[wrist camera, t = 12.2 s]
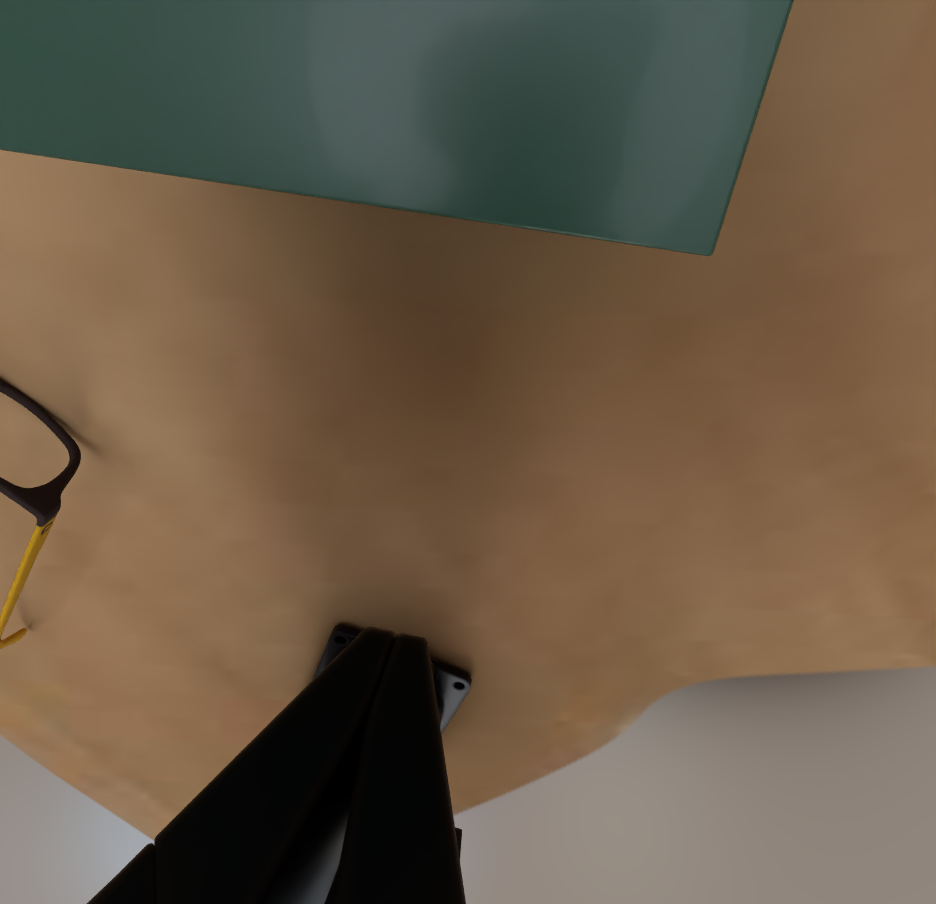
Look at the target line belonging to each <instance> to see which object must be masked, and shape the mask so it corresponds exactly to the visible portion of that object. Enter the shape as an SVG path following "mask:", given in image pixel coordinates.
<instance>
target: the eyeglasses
mask: <svg viewBox="0 0 936 904" xmlns="http://www.w3.org/2000/svg"><path fill="white" fill-rule="evenodd" d="M0 392H2V393H3V394H5V395H7V396H9V397H10V398H12V399H14V400H15V401H17V402H18V403H20V404H21V405H23V406H24V407H25V408H27V409H28V410H29V411H31V412H32V413H33V414H34V415H36V416H37V417H38V418H39V419H40V420H41V421H42V422H44V423H45V424H46V425H47V426H48V427H49V428H50V429H51V430H52V431H53V432H54V433H55V435H56V436H57V437H58V438H59V439H60V440H61V441H62V443H63V444H64V445H65V446H66V448H67V449H68V452H69V456H70V460H69V464H68V466H67V467H66V468H65V469H64V471H63V472H62V473H60V474H59V475H58V476H57V477H56V478H55V479H53V480H52V481H50V482H49V483H47V484H45V485H42V486H39V487H34V488H22V487H19V486H16V485H14V484H12V483H10V482H8V481H6V480H4V479H3V478H1V477H0V492H1V493H3V494H4V495H6V496H7V497H9V498H10V499H12V500H13V501H15V502H16V503H18V504H19V505H21V506H22V507H23V508H25V509H26V510H28V511H29V512H30V513H32V514H33V515H34V516H35V517H36V518H37V524H36V527H35V530H34V533H33V535H32V537H31V540H30V542H29V544H28V547H27V549H26V551H25V554H24V556H23V559H22V561H21V564H20V566H19V569H18V571H17V574H16V577H15V579H14V582H13V584H12V587H11V589H10V592H9V595H8V597H7V600H6V602H5V605H4V607H3V610H2V613H1V615H0V649H1V648H3V647H6V646H8V645H10V644H12V643H15V642H16V641H18V640H20V639H21V638H22V637H23V636H24V635H25V634H26V632H27V629H25V628H23V629H21V630H19V631H17V632H16V633H14V634H12V635H11V636H9V637H7V638H6V639H4V640H1V634H2V632H3V630H4V628H5V626H6V623H7V621H8V619H9V617H10V614H11V612H12V610H13V608H14V605H15V603H16V601H17V599H18V597H19V594H20V592H21V590H22V588H23V586H24V583H25V581H26V579H27V577H28V574H29V572H30V570H31V568H32V566H33V563H34V561H35V559H36V557H37V555H38V552H39V551H40V549H41V547H42V545H43V543H44V541H45V539H46V537H47V535H48V533H49V530H50V528H51V526H52V524H53V522H54V519H55V517H56V515H57V513H58V511H59V510H60V507H61V493H62V491H63V490H64V488H65V487H66V485H67V484H68V483H69V481H70V480H71V478H72V477H73V475H74V474H75V472H76V471H77V469H78V466H79V464H80V460H81V453H80V449H79V447H78V445H77V444H76V442H75V441H74V440H73V439H72V438H71V436H70V435H69V434H68V433H67V432H66V431H65V430H64V429H63V428H62V427H61V426H60V425H59V424H58V423H57V422H56V421H55V420H54V419H53V418H52V417H51V416H50V415H49V414H47V413H46V412H45V411H44V410H43V409H42V408H40V407H39V406H38V405H36V404H35V403H34V402H33V401H31V400H30V399H28V398H27V397H26V396H24V395H23V394H22V393H20V392H19V391H17V390H15V389H14V388H12V387H11V386H9V385H7V384H6V383H4V382H2V381H0Z"/></svg>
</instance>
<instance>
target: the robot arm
mask: <svg viewBox="0 0 936 904" xmlns="http://www.w3.org/2000/svg"><path fill="white" fill-rule="evenodd" d="M342 636H343V637H342ZM471 681H472V679H471V676H470V675H469V674H468V673H466V672H464V671H461V670H459V669H456V668H454V667H451V666H449V665H446V664H443V663H441V662H438V661H436V660H433V659H431V658H430V653H429V646H428V641H427V640H426V638H424V637H421V636H416V635H411V634H406V633H400V634H398V635H397V636H396V633H395V632H393V631H391V630H386V629H380V628H375V627H368V628H366V629H364V630H363V631H362V632H361V631H359V630H356V629H354V628H351V627H348V626H345V625H338V626H335V627H334V629H333V631H332V633H331V635H330V638H329V640H328V643H327V645H326V648H325V650H324V653H323V655H322V658H321V660H320V663H319V665H318V668H317V670H316V673H315V675H314V678H313V680H312V682H311V683H310V684H309V685H308V686H307V687H306V688H305V689H304V690H303V691H302V692H301V693H300V694H299V695H298V696H297V697H296V698H294V699H293V700H292V701H291V702H290V703H289V704H288V705H287V706H286V707H285V708H284V709H283V710H282V711H281V712H280V713H279V714H278V715H277V716H276V717H275V718H274V719H273V720H272V721H271V722H270V723H269V724H268V725H267V726H266V727H265V728H264V729H263V730H262V731H261V732H260V733H259V734H258V735H257V736H256V737H255V738H254V739H253V740H252V741H251V742H250V743H249V744H248V745H247V746H246V747H245V748H244V749H243V750H242V751H241V752H240V753H239V754H238V755H237V756H236V757H235V758H234V759H233V760H232V761H231V762H230V763H229V764H228V765H227V766H226V767H225V768H224V769H223V770H222V771H221V772H220V773H219V774H218V775H217V776H216V777H215V778H214V779H213V780H212V781H211V782H210V783H209V784H208V785H207V786H206V787H205V788H204V789H203V790H202V791H201V792H200V793H199V794H198V795H197V796H196V797H195V798H194V799H193V800H192V801H191V802H190V803H189V804H188V805H187V806H186V807H185V808H184V809H183V810H182V811H181V812H180V813H179V814H178V815H177V816H176V817H175V818H174V819H173V820H172V821H171V822H170V823H169V824H168V825H167V826H166V827H165V828H164V829H163V830H162V831H161V832H160V833H159V834H158V835H157V836H156V837H155V842H154V843H155V844H152V843H150V844H148V845H146V846H145V847H144V849H142V851H140V852H139V853H138V854H137V855H136V856H135V858H133V860H131V861H130V862H129V863H128V864H127V866H126V867H124V868H123V869H122V870H121V871H120V873H119V874H117V875H116V876H115V877H114V878H113V879H112V880H111V881H110V882H109V883H108V884H107V885H106V886H105V887H104V888H103V889H102V890H101V891H100V892H99V893H98V894H97V895H95V896H94V897H93V898H92V899H91V900H90V901H89V902H88V903H87V904H466V902H465V894H464V887H463V881H462V874H461V867H460V851H461V837H462V830H461V829H459V828H455V826H454V819H453V812H452V805H451V798H450V791H449V784H448V777H447V770H446V763H445V756H444V750H443V743H442V736H441V734H442V732H443V731H444V729H445V727H446V726H447V724H448V723H449V721H450V720H451V718H452V717H453V715H454V714H455V712H456V710H457V709H458V707H459V706H460V704H461V703H462V701H463V700H464V698H465V696H466V695H467V693H468V692H469V690H470V687H471Z"/></svg>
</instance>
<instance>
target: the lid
mask: <svg viewBox="0 0 936 904" xmlns="http://www.w3.org/2000/svg"><path fill="white" fill-rule="evenodd" d="M793 1H794V0H0V150H5V151H12V152H19V153H25V154H32V155H39V156H45V157H52V158H59V159H65V160H72V161H79V162H85V163H92V164H99V165H105V166H112V167H118V168H125V169H132V170H138V171H145V172H152V173H158V174H165V175H172V176H178V177H185V178H192V179H198V180H205V181H212V182H218V183H225V184H232V185H238V186H245V187H251V188H258V189H265V190H271V191H278V192H285V193H291V194H298V195H305V196H311V197H318V198H325V199H331V200H338V201H345V202H351V203H358V204H365V205H371V206H378V207H384V208H391V209H398V210H404V211H411V212H418V213H424V214H431V215H438V216H444V217H451V218H458V219H464V220H471V221H478V222H484V223H491V224H497V225H504V226H511V227H517V228H524V229H531V230H537V231H544V232H551V233H557V234H564V235H571V236H577V237H584V238H591V239H597V240H604V241H611V242H617V243H624V244H630V245H637V246H644V247H650V248H657V249H664V250H670V251H677V252H684V253H690V254H697V255H704V256H710V255H712V254H713V252H714V249H715V246H716V243H717V240H718V237H719V233H720V230H721V227H722V224H723V221H724V218H725V215H726V211H727V208H728V205H729V202H730V199H731V196H732V192H733V189H734V186H735V183H736V180H737V177H738V174H739V170H740V167H741V164H742V161H743V158H744V155H745V152H746V148H747V145H748V142H749V139H750V136H751V133H752V130H753V126H754V123H755V120H756V117H757V114H758V111H759V108H760V104H761V101H762V98H763V95H764V92H765V89H766V86H767V82H768V79H769V76H770V73H771V70H772V67H773V64H774V60H775V57H776V54H777V51H778V48H779V45H780V41H781V38H782V35H783V32H784V29H785V26H786V23H787V19H788V16H789V13H790V10H791V7H792V4H793Z"/></svg>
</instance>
